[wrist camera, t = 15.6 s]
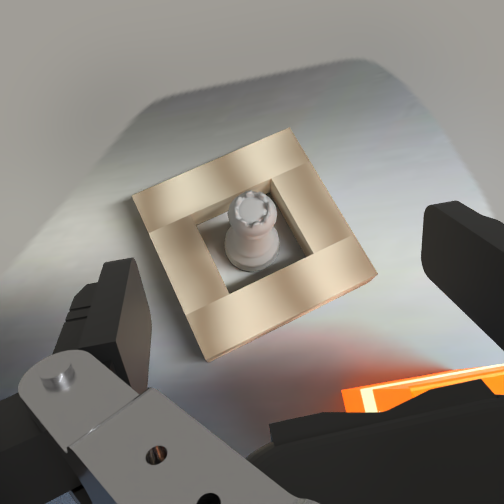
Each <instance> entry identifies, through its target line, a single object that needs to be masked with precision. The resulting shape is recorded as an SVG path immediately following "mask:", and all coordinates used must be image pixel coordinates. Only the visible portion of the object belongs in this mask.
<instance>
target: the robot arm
mask: <svg viewBox="0 0 504 504" xmlns="http://www.w3.org/2000/svg"><path fill="white" fill-rule="evenodd" d="M421 262H422V266H423V269H424V272H425V274H426V275H427V277H428V278H429V279H430V280H431V281H432V282H433V283H434V284H435V285H436V286H437V287H438V288H439V289H440V290H442V291H443V292H444V293H445V294H446V295H447V296H448V297H449V298H450V299H451V300H452V301H453V302H454V303H455V304H456V305H457V306H458V307H459V308H460V309H461V310H462V311H463V312H464V313H465V314H466V315H467V316H468V317H469V318H470V319H471V320H473V321H474V322H475V323H476V324H477V325H478V326H479V327H480V328H481V329H482V330H483V331H484V332H485V333H486V334H487V335H488V336H489V337H490V338H491V339H492V340H493V341H494V342H495V343H496V344H497V345H498V346H499V347H500V348H501V349H502V350H503V351H504V224H503V223H502V222H500V221H498V220H496V219H493V218H489V217H486V216H483V215H481V214H479V213H477V212H476V211H474V210H472V209H471V208H469V207H467V206H465V205H464V204H462V203H460V202H459V201H451V202H445V203H439V204H434V205H429V206H428V207H427V208H426V209H425V212H424V221H423V235H422V250H421ZM151 333H152V323H151V315H150V310H149V306H148V302H147V299H146V295H145V292H144V288H143V284H142V281H141V277H140V274H139V270H138V267H137V264H136V261H135V259H134V258H127V259H122V260H116V261H110V262H105V263H104V264H103V268H102V271H101V274H100V277H99V281H98V282H97V283H92V284H87V285H86V286H85V287H84V288H83V289H82V290H81V291H80V292H79V293H78V294H77V295H76V296H75V297H74V299H73V302H72V304H71V307H70V312H68V315H67V317H66V323H64V325H63V328H62V331H61V333H60V336H59V338H58V341H57V344H56V346H55V349H54V352H53V354H52V355H51V356H48V357H47V358H45V359H43V360H41V361H39V362H38V363H36V364H35V365H34V366H33V367H31V368H30V369H29V370H28V371H27V372H26V373H25V375H24V376H23V377H22V379H21V381H20V383H19V387H18V393H17V394H15V395H13V396H11V397H8V398H6V399H4V400H1V401H0V504H45V503H47V502H49V501H51V500H53V499H55V498H57V497H59V496H61V495H62V494H64V493H66V492H69V494H70V495H71V496H72V498H73V499H74V501H75V502H76V503H77V504H504V395H502V394H494V393H493V392H492V390H491V389H490V388H489V387H488V386H487V385H486V384H485V383H484V381H483V380H482V379H481V378H480V379H476V380H471V381H466V382H462V383H457V384H452V385H448V386H443V387H438V388H434V389H430V390H428V391H426V392H424V393H422V394H420V395H418V396H416V397H414V398H412V399H410V400H407V401H405V402H403V403H401V404H399V405H397V406H395V407H393V408H391V409H389V410H387V411H384V412H322V413H318V414H313V415H309V416H304V417H299V418H295V419H290V420H285V421H281V422H276V423H271V424H269V427H270V434H271V441H272V442H270V443H268V444H266V445H264V446H263V447H261V448H259V449H258V450H256V451H255V452H253V453H251V454H250V455H249V456H248V457H246V458H244V457H242V456H241V455H240V454H238V453H237V452H236V451H235V450H233V449H232V448H231V447H230V446H228V445H227V444H226V443H224V442H223V441H222V440H221V439H219V438H218V437H217V436H216V435H214V434H213V433H212V432H210V431H209V430H208V429H207V428H205V427H204V426H203V425H201V424H200V423H199V422H198V421H196V420H195V419H194V418H193V417H191V416H190V415H189V414H187V413H186V412H185V411H184V410H182V409H181V408H180V407H179V406H177V405H176V404H175V403H173V402H172V401H171V400H170V399H168V398H167V397H166V396H165V395H163V394H162V393H161V392H159V391H158V390H156V389H154V388H148V389H147V384H148V371H149V358H150V345H151Z"/></svg>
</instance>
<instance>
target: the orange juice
mask: <svg viewBox="0 0 504 504" xmlns="http://www.w3.org/2000/svg"><path fill="white" fill-rule="evenodd" d="M480 378H481V379H482V380H483V381H484V383H485V384H486V385H487V386H488V387H489V388H490V389H491V390H492V392H493V393H494V394H502V395H504V364H498V365H492V366H486V367H477V368H468V369H459V370H451V371H446V372H440V373H435V374H429V375H423V376H418V377H412V378H407V379H401V380H395V381H390V382H384V383H379V384H373V385H368V386H362V387H356V388H351V389H345V390H341V391H342V395H343V400H344V404H345V409H346V412H384V411H387V410H389V409H391V408H393V407H395V406H397V405H399V404H401V403H403V402H405V401H407V400H410V399H412V398H414V397H416V396H418V395H420V394H422V393H424V392H426V391H428V390H430V389H434V388H438V387H443V386H448V385H452V384H457V383H462V382H466V381H471V380H476V379H480Z"/></svg>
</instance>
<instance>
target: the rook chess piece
mask: <svg viewBox="0 0 504 504" xmlns="http://www.w3.org/2000/svg"><path fill="white" fill-rule="evenodd" d="M228 218H229V222H230V224H231V226H230V228H229V229H228V231H227V232H226V237H225V244H224V247H225V252H226V256H227V257H228V259H229V260H230V261H231V263H232V264H233V265H235V266H236V267H238V268H239V269H241V270H245V271H250V272H254V271H259V270H263V269H265V268H266V267H268V266H269V265H271V264H272V263H273V262H274V260H275V259H276V257H277V256H278V252H279V246H280V244H279V242H280V241H279V237H278V233H277V230H276V229H275V228H274V224H275V223H276V218H277V210H276V206H275V204H274V203H273V201H272V200H271V199H270V197H268V196H266V195H265V194H264V193H262V192H255V191H252V190H249V191H245V193H242V194H240V195H238V196H237V197H235V198H234V200H233V201H232V203H231V204H230V206H229V210H228Z"/></svg>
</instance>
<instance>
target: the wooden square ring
mask: <svg viewBox="0 0 504 504" xmlns="http://www.w3.org/2000/svg"><path fill="white" fill-rule="evenodd" d="M249 190H252V191H255V192H262V193H264V194H267V193H269V192H270V193H271V195H272V197H273V199H274V200H275V202H276V204H277V206H278V207H279V209H280V211H281V213H282V215H283V216H284V218H285V220H286V222H287V224H288V225H289V227H290V229H291V231H292V233H293V234H294V236H295V238H296V240H297V242H298V243H299V245H300V247H301V249H302V251H303V252H304V254H305V256H306V258H304V259H301V260H299V261H297V262H295V263H293V264H291V265H289V266H287V267H285V268H283V269H281V270H279V271H277V272H274V273H272V274H270V275H268V276H266V277H264V278H262V279H260V280H258V281H256V282H254V283H252V284H250V285H247V286H245V287H243V288H241V289H239V290H237V291H235V292H233V293H231V294H229V292H228V290H227V288H226V286H225V284H224V282H223V280H222V278H221V275H220V273H219V271H218V269H217V267H216V265H215V263H214V261H213V259H212V257H211V255H210V253H209V251H208V249H207V247H206V245H205V243H204V241H203V239H202V237H201V235H200V232H199V230H198V228H197V226H196V225H198V224H200V223H203V222H205V221H207V220H209V219H211V218H214V217H216V216H218V215H220V214H223V213H225V212H227V211H228V210H229V206H230V204H231V203H232V201H233V200H234V198H235V197H237V196H238V195H240V194H242V193H245V191H249ZM132 198H133V200H134V202H135V204H136V206H137V209H138V211H139V213H140V215H141V218H142V220H143V222H144V224H145V226H146V229H147V231H148V233H149V235H150V237H151V240H152V242H153V244H154V246H155V249H156V251H157V253H158V255H159V257H160V260H161V262H162V264H163V266H164V269H165V271H166V273H167V275H168V277H169V280H170V282H171V284H172V286H173V289H174V291H175V293H176V295H177V297H178V300H179V302H180V304H181V306H182V308H183V311H184V313H185V315H186V317H187V320H188V322H189V324H190V326H191V328H192V331H193V333H194V335H195V337H196V340H197V342H198V344H199V346H200V348H201V351H202V353H203V355H204V357H205V360H206V361H208V362H211V361H213V360H215V359H217V358H219V357H221V356H223V355H225V354H227V353H229V352H231V351H233V350H235V349H237V348H239V347H241V346H243V345H245V344H247V343H249V342H251V341H253V340H255V339H257V338H259V337H261V336H263V335H265V334H267V333H269V332H271V331H273V330H275V329H277V328H279V327H281V326H283V325H285V324H287V323H289V322H291V321H293V320H295V319H297V318H299V317H301V316H303V315H305V314H307V313H309V312H311V311H313V310H315V309H317V308H319V307H321V306H323V305H325V304H327V303H329V302H331V301H333V300H335V299H337V298H339V297H341V296H343V295H345V294H347V293H349V292H351V291H353V290H355V289H356V288H358V287H360V286H362V285H364V284H366V283H368V282H370V281H371V280H372V279H373V278H374V277H375V276H376V275H377V274H378V273H377V272H376V270H375V268H374V267H373V265H372V263H371V262H370V260H369V258H368V257H367V255H366V253H365V252H364V250H363V248H362V247H361V245H360V243H359V242H358V240H357V238H356V237H355V235H354V233H353V232H352V230H351V228H350V227H349V225H348V223H347V222H346V220H345V219H344V217H343V215H342V214H341V212H340V210H339V209H338V207H337V205H336V204H335V202H334V200H333V199H332V197H331V195H330V194H329V192H328V190H327V189H326V187H325V185H324V184H323V182H322V180H321V179H320V177H319V175H318V174H317V172H316V170H315V169H314V167H313V165H312V164H311V162H310V160H309V159H308V157H307V155H306V154H305V152H304V150H303V149H302V147H301V145H300V144H299V142H298V140H297V139H296V137H295V136H294V134H293V132H292V131H291V129H290V127H289V128H287V129H285V130H282V131H280V132H278V133H275V134H273V135H271V136H269V137H266V138H264V139H262V140H259V141H257V142H255V143H252V144H250V145H248V146H245V147H243V148H241V149H238V150H236V151H234V152H231V153H229V154H227V155H225V156H222V157H220V158H218V159H215V160H213V161H211V162H208V163H206V164H204V165H201V166H199V167H197V168H194V169H192V170H190V171H187V172H185V173H183V174H181V175H178V176H176V177H174V178H171V179H169V180H167V181H164V182H162V183H160V184H157V185H155V186H153V187H150V188H148V189H146V190H143V191H141V192H139V193H136V194H134V195H132Z"/></svg>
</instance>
